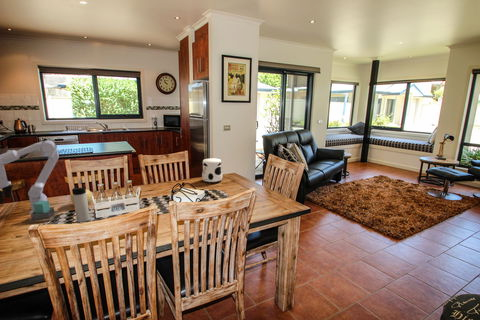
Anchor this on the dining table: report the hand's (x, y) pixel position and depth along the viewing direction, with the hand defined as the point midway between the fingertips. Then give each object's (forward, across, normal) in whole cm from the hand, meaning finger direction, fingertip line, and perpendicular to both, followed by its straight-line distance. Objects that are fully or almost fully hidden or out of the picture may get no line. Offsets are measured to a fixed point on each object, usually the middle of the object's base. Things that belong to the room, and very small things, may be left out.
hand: (4, 200), depth 147 cm
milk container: (+10, -33, +128) cm, 132 cm away
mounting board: (+10, +9, +21) cm, 25 cm away
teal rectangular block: (+8, +9, +21) cm, 24 cm away
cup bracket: (+9, +9, +21) cm, 24 cm away
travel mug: (+10, +20, +44) cm, 49 cm away
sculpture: (+10, -7, +37) cm, 39 cm away
